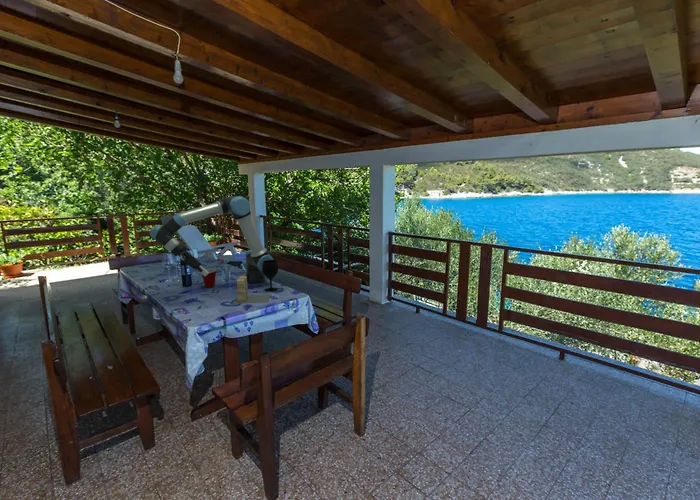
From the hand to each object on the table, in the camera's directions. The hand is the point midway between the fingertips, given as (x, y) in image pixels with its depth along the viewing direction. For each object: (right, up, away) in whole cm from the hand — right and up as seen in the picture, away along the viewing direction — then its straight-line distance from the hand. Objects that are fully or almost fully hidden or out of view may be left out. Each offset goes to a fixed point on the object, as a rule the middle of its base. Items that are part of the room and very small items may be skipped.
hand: (207, 274), depth 206 cm
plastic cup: (-12, -11, +32) cm, 36 cm away
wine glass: (+33, -13, +25) cm, 43 cm away
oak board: (+20, -15, +5) cm, 26 cm away
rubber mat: (+26, -16, +6) cm, 31 cm away
